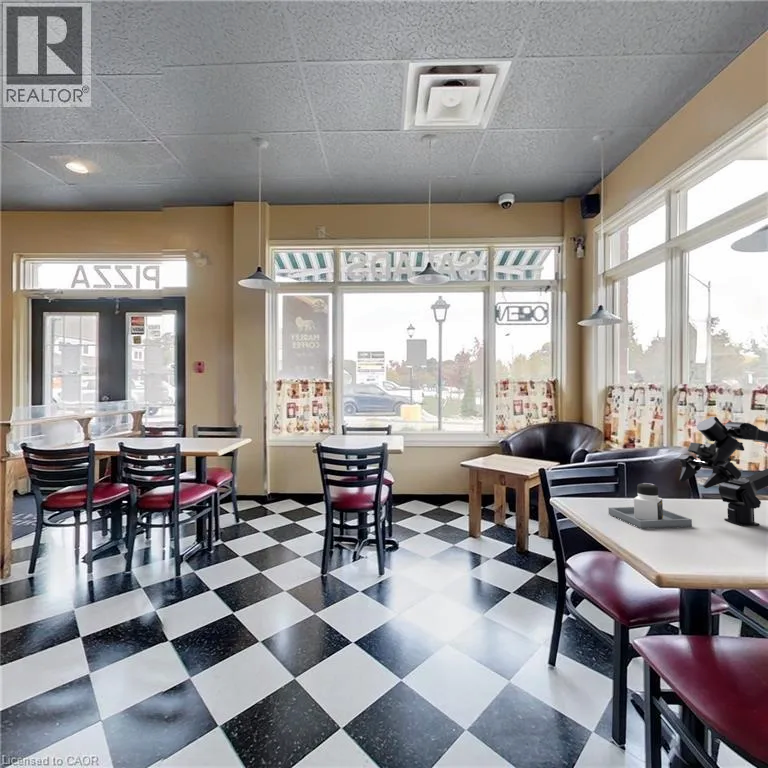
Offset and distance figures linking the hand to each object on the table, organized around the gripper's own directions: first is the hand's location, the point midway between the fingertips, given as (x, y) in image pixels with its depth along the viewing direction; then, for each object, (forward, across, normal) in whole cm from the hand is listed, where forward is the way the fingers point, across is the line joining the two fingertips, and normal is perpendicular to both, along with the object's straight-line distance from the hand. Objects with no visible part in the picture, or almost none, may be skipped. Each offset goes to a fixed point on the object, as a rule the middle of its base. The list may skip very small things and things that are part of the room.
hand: (692, 484), depth 130 cm
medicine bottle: (+17, -6, +1) cm, 18 cm away
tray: (+18, -6, +1) cm, 19 cm away
